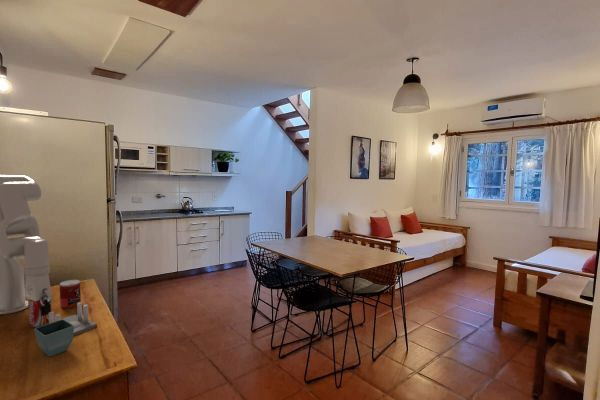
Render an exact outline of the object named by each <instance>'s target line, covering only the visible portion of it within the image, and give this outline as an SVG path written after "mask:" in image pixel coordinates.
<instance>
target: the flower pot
mask: <svg viewBox="0 0 600 400" xmlns="http://www.w3.org/2000/svg"><path fill="white" fill-rule="evenodd" d="M61 319H62V320H58V321H55V320H54V322H53V323H50V324H49V323H47V325H44V326H41V327H34V330H33V331H34V335H35V339H36V343H37V345H38V347H39V349H40V350H41V351H42V352H43V353H44V354H46V355H47V356H48V357H54V356H56V355H59V354H60V353H63V352H66V351H67V350H68V349H69V348H70V346H71V345H72V343H73V339H74V336H73V333H74V325H73V324H71V323H69V322H67V321H66V320H64V319H63V318H61Z"/></svg>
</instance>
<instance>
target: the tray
mask: <svg viewBox="0 0 600 400" xmlns="http://www.w3.org/2000/svg"><path fill="white" fill-rule="evenodd" d="M76 308H77V309H76V310H77V313H76V314H72V315H70V316H67V317H64V318H61V314H60V313H58V314H57V313H56V314H55V311H52V310H51V312H49V322H48V323H47V324H50V323H53V322H55V321H58V320H62V319H64V320H66V321H67V322H69V323H71V324H73V325H74V333H73V337H74V336H76V335H77V336H78V335H79V334H82V333H84V332H86V331H90V330H92V329H95V328H96V327H98V323H97V322H94V321H91V320H90V319H89V305H88V304H84V305H83V303H82V302H80V303H77V307H76ZM47 324H46V325H47ZM43 326H44V325H43ZM40 327H41V326H40Z"/></svg>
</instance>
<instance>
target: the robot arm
mask: <svg viewBox="0 0 600 400" xmlns="http://www.w3.org/2000/svg"><path fill="white" fill-rule="evenodd" d="M41 197H42V190H41V187H40V185H39V184H38V183H37V182H36V181H35V180H33V179H32V178H30V177H29V176H26V175H20V174H19V175H17V174H16V175H15V174H14V175H13V174H9V175H8V174H7V175H6V174H0V315H8V314H14V313H18V312H20V311H23V310H25V309H27V308H28V309H29V303H28V301H29V299H31V300H34V301H39V300H40V303H41V305H42V306H40V307H41V316H44V315H47V314H49V312H52V305H51V304H52V299H53V297H52V294H51V292H52V291H51V283H50V282H51V281H50V275H49V274H50V273H51V270H50V253H49V252H50V251H49V242H48V240H47V239H44V238H43V237H42V236H41V232H40V227H39V223H38V220H37V217H35V216H34V215H33V214H32V212H31V209H30V206H29V203H28V202H29V201H30V202H32V201H33V202H35V201H38V200H40V199H41ZM21 235H22V236H21ZM14 236H21V237H14ZM8 237H11V238H8ZM20 259H24V260H23V261H24V266H23V265H22V264H21V263H19V262H17V260H20ZM45 296H46V297H45ZM42 297H43V298H42ZM26 298H27V300H26ZM45 299H46V300H45ZM43 300H45V301H44V302H43Z"/></svg>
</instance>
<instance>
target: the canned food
mask: <svg viewBox="0 0 600 400" xmlns="http://www.w3.org/2000/svg"><path fill="white" fill-rule="evenodd" d="M81 297H82V296H81V280H79V279H68V280H64V281H61V282H60V283H59V302H60V304H59V306H60V308H61V309H65V310H66V309H67V310H68V309H73V308H77V303H80V302H81V301H82V299H81ZM81 303H82V302H81Z"/></svg>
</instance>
